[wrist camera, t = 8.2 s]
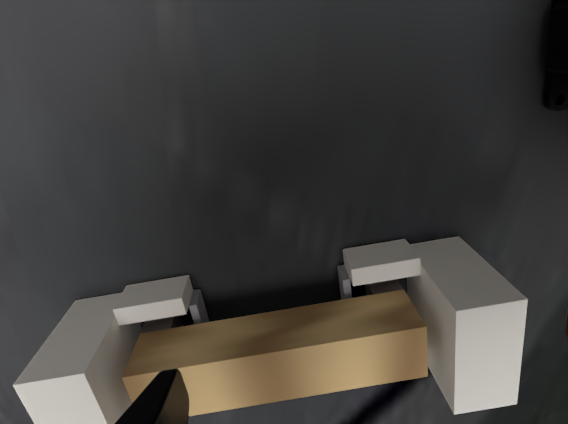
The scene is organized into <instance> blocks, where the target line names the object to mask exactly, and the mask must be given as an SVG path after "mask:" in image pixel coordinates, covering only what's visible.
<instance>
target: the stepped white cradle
mask: <svg viewBox="0 0 568 424" xmlns="http://www.w3.org/2000/svg"><path fill="white" fill-rule="evenodd" d="M343 258H344V265H340V266H337V269H338V277H339V286H340V294H341V300H343V299H349V298H352V293H351V284H350V280H351V283H352V285H353V286H359V285H365V284H371V283H376V282H382V281H388V280H394V279H400V278H406V277H407V295H408V297H409V298H410V300H411V302H412V303H413V305H414V307H415V308H416V310H417V311H418V313H419V315H420V316H421V318H422V319H423V321H424V323H425V324H426V326H427V362H428V367H429V369H430V371H431V373H432V375H433V377H434V378H435V380H436V382H437V384H438V386H439V388H440V390H441V391H442V393H443V395H444V397H445V399H446V401H447V402H448V404H449V406H450V408H451V410H452V412H453V413H454V415H455V414H461V413H467V412H473V411H479V410H485V409H491V408H497V407H503V406H509V405H515V404H517V399H518V389H519V379H520V370H521V360H522V351H523V341H524V331H525V322H526V312H527V302H528V299H527V298H526V297H525V296H524V295H523V294H522V293H520V292H519V291H518V290H517V289H516V288H515V287H514V286H513V285H512V284H511V283H509V282H508V281H507V280H506V279H505V278H504V277H503V276H502V275H501V274H500V273H499V272H497V271H496V270H495V269H494V268H493V267H492V266H491V265H490V264H489V263H488V262H486V261H485V260H484V259H483V258H482V257H481V256H480V255H479V254H478V253H477V252H476V251H474V250H473V249H472V248H471V247H470V246H469V245H468V244H467V243H466V242H465V241H463V240H462V239H461V238H460V237H459V236H456V237H450V238H444V239H438V240H432V241H426V242H420V243H414V244H409V243H408V242H407V240H406V239H400V240H394V241H388V242H382V243H376V244H370V245H364V246H358V247H352V248H346V249H343ZM188 307H189V308H190V312H191V315H192V318H193V322H194V324H200V323H206V322H209V318H208V315H207V311H206V307H205V304H204V300H203V297H202V293H201V290H200V289H196V290H193V288H192V284H191V281H190V277H189V275H185V276H179V277H173V278H167V279H161V280H155V281H149V282H143V283H137V284H131V285H126V287H125V289H124V290H123V292H122V293H116V294H110V295H104V296H98V297H92V298H86V299H80V300H75V302H74V303H73V304H72V306H71V307H70V308H69V310H68V311H67V312H66V314H65V315H64V316H63V318H62V319H61V320H60V322H59V323H58V325H57V326H56V327H55V329H54V330H53V331H52V333H51V334H50V335H49V337H48V338H47V339H46V341H45V342H44V343H43V345H42V346H41V348H40V349H39V350H38V352H37V353H36V354H35V356H34V357H33V358H32V360H31V361H30V362H29V364H28V365H27V367H26V368H25V369H24V371H23V372H22V373H21V375H20V376H19V377H18V379H17V380H16V381H15V383H14V384H13V387H14V389H15V390H16V392H17V394H18V396H19V398H20V399H21V401H22V403H23V405H24V406H25V408H26V410H27V412H28V413H29V415H30V417H31V419H32V420H33V422H34V424H115V422H116V421H117V420H118V419H119V418H120V417H121V416H122V414H123V413H124V412H125V411H126V410H127V409H128V408H129V406H130V405H131V404H132V402H131V399H130V397H129V394H128V392H127V390H126V387H125V385H124V382H123V380H122V375H123V373H124V371H125V368H126V366H127V364H128V361H129V359H130V356H131V354H132V352H133V349H134V347H135V345H136V342H137V340H138V337H139V335H140V333H141V330H142V327H141V324H140V322H143V321H149V320H155V319H161V318H167V317H173V316H179V315H185V314H187V311H188Z"/></svg>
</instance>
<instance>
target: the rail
mask: <svg viewBox="0 0 568 424" xmlns="http://www.w3.org/2000/svg"><path fill="white" fill-rule="evenodd" d="M365 290H366V296H361V297H355V298H349V299H343V300H338V301H332V302H326V303H320V304H314V305H308V306H302V307H296V308H290V309H284V310H278V311H272V312H266V313H260V314H254V315H248V316H242V317H236V318H230V319H224V320H218V321H212V322H206V323H200V324H194V325H188V326H184V325H183V321H182V318H181V315H179V316H173V317H167V318H161V319H155V320H149V321H145V323H144V325H143V328H142V330H141V333H140V335H139V337H138V340H137V342H136V345H135V347H134V349H133V352H132V354H131V356H130V359H129V361H128V364H127V366H126V368H125V371H124V373H123V375H122V380H123V382H124V385H125V387H126V390H127V392H128V394H129V397H130V399H131V402H132V403H133V402H134V401H135V399H136V398H137V397H138V396H139V395H140V394H141V393H142V391H143V390H144V389H145V388H146V387H147V386H148V384H149V383H150V382H151V381H152V380H153V379H154V378H155V376H156V375H157V374H158V373H159V372H161V371H163V370H169V369H175V368H176V369H179V371H180V372H181V375H182V377H183V380H184V383H185V386H186V389H187V392H188V395H189V416H194V415H200V414H206V413H212V412H218V411H224V410H230V409H236V408H242V407H248V406H254V405H260V404H266V403H272V402H278V401H284V400H290V399H296V398H302V397H308V396H314V395H320V394H326V393H331V392H337V391H343V390H349V389H355V388H361V387H367V386H373V385H379V384H385V383H391V382H397V381H403V380H409V379H415V378H421V377H427V376H428V362H427V326H426V324H425V323H424V321H423V319H422V318H421V316H420V315H419V313H418V311H417V310H416V308H415V307H414V305H413V303H412V302H411V300H410V298H409V297H408V295H407V294H406V292H405V290H404V289H403V287H402V285H401V284H400V282H399V281H398V279H394V280H388V281H382V282H376V283H371V284H365Z"/></svg>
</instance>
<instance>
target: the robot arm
mask: <svg viewBox="0 0 568 424" xmlns="http://www.w3.org/2000/svg"><path fill="white" fill-rule="evenodd" d="M546 69H547V72H546V82H545V92H544V105H545V107H546V108H548V109H550V110H558V111H559V110H565V109H568V0H554V2H553V11H552V12H551V22H550V32H549V42H548V52H547V62H546ZM558 95H559V100H558V102H557V103H555V102H554V100H555V98H556V97H557V96H558ZM565 333H566V336H567V339H568V310H567V317H566V324H565ZM188 418H189V395H188V392H187V389H186V386H185V383H184V380H183V377H182V375H181V372H180V371H179V369H176V368H175V369H169V370H163V371H161V372H159V373H158V374H157V375H156V376H155V378H154V379H153V380H152V381H151V382H150V383H149V384H148V386H147V387H146V388H145V389H144V390H143V391H142V393H141V394H140V395H139V396H138V397H137V398H136V399H135V401H134V402H133V403H132V404H131V405H130V406H129V408H128V409H127V410H126V411H125V412H124V413H123V414H122V416H121V417H120V418H119V419H118V420H117V421H116V422H115V424H188Z"/></svg>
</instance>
